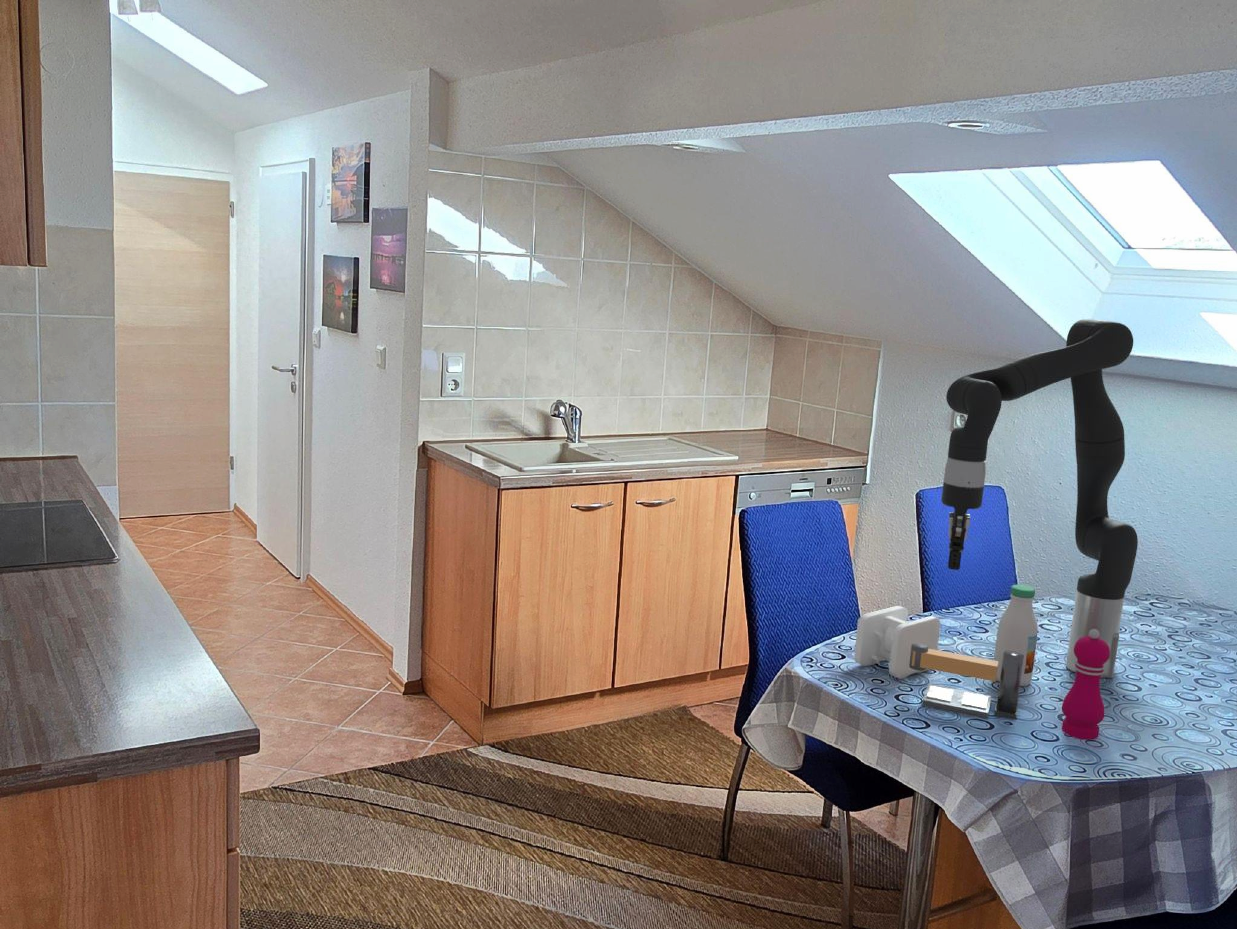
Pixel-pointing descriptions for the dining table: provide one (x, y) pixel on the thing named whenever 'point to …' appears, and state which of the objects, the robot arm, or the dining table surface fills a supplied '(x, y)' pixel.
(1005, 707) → the post
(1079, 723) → the pepper mill
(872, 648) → the cable organizer
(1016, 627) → the milk bottle
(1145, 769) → the dining table surface
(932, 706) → the label plate
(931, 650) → the swing bar
